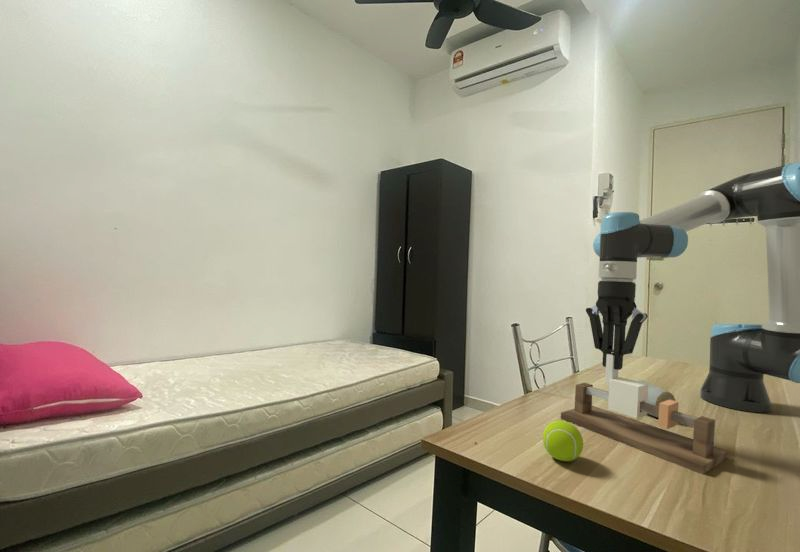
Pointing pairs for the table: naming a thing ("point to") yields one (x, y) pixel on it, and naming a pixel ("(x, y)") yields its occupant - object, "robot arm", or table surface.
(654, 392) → the pale blue cylinder
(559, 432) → the tennis ball
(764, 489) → the table surface
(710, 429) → the rail stand
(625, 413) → the sleeve
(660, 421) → the band
